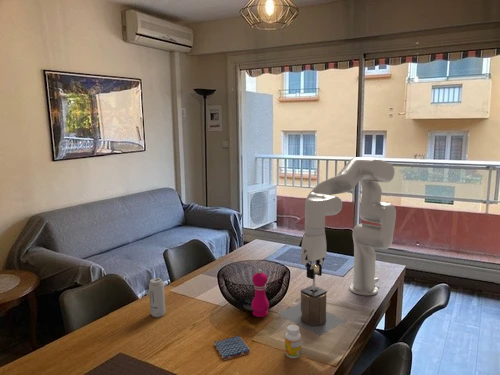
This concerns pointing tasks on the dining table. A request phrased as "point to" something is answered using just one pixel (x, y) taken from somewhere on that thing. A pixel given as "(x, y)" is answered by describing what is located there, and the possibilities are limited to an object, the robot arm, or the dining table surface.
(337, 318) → the slate board
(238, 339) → the woven mat
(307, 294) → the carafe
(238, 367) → the dining table surface
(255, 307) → the pepper mill
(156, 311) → the energy drink can
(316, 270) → the plunger
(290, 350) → the supplement bottle
